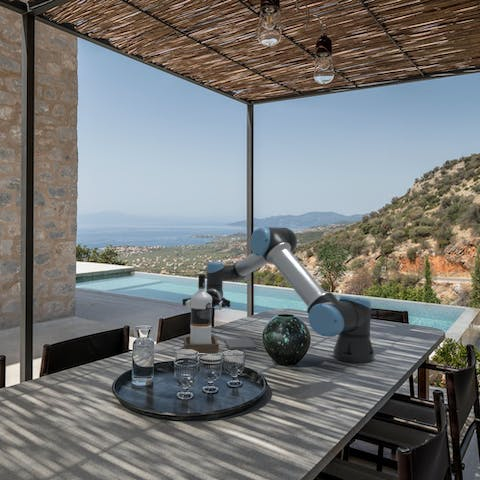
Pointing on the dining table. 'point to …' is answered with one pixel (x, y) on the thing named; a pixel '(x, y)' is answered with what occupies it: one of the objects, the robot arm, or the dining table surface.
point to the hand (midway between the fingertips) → (203, 306)
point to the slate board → (240, 344)
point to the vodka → (201, 315)
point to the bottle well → (202, 346)
